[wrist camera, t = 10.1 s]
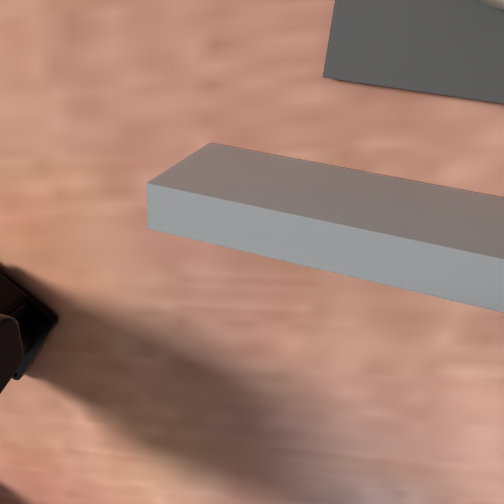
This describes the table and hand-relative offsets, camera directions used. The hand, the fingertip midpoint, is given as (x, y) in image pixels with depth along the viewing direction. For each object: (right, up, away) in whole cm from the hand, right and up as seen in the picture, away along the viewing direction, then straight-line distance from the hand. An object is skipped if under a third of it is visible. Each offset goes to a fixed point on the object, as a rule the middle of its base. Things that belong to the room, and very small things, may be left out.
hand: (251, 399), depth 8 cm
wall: (+7, +4, +9) cm, 12 cm away
